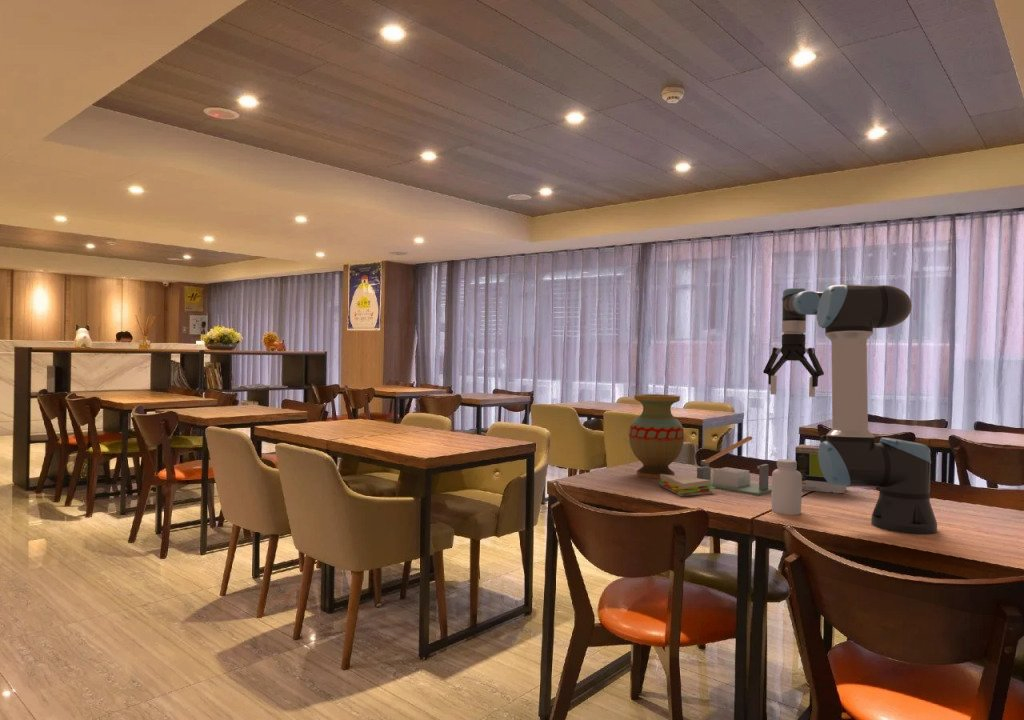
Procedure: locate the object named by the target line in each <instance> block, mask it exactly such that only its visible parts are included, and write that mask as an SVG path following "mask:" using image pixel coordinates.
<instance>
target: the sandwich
mask: <svg viewBox="0 0 1024 720" xmlns="http://www.w3.org/2000/svg"><path fill="white" fill-rule="evenodd" d="M659 479H660V481H658V483H659V486H661V487H663V488H664V489H667V490H669V491H670V492H673V493H675V494H677V495H678V496H680V497H686V496H696V495H697V496H699V495H707V494H713V489H716V488H715V487H712V486H708V485H711V480H706V479H698V478H697V477H690V476H689V477H688V476H681V475H680V476H679V475H675V476H673V475H665V474H660V478H659Z"/></svg>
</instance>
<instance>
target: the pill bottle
mask: <svg viewBox="0 0 1024 720" xmlns="http://www.w3.org/2000/svg"><path fill="white" fill-rule="evenodd" d="M796 466H797V462H796V461H795V460H793V459H777V460H776V467H777V468H775V469H774V470H773V471H772V473H771V486H772V492H771V511H772V512H773V513H776V514H779V515H785V516H787V515H788V516H798V515H801V514H802V498H803V497H802V495H803V494H802V491H803V489H802V475H801V473H800V472H799V471H797V470H796V469H797V467H796Z"/></svg>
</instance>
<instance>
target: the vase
mask: <svg viewBox="0 0 1024 720" xmlns="http://www.w3.org/2000/svg"><path fill="white" fill-rule="evenodd" d="M680 397H681V396H680V395H677V394H676V395H673V394H653V393H651V394H650V393H648V394H647V393H641V394H640V393H639V394H634V397H633V398H634V400H635V401H638V402H639V403H640V404H641V405H642V411H641V413H640V415H638V416H637V417H636V418H635V419H634V420H633V421H631V423H630V426H629V429H628V442H629V445H630V449H631V450H632V453H633V455H634V456H635V457H636V458H637V459H638V461H640V463H641V464H642V467H640V468H638V469H637V470H636V475H637V476H639V477H643V478H649V479H660V474H665V475H673V476H676V472H675V471H673V470H672V469H671V468H669V466H670V465H671V464H672V463H673V462H674V461H675V460H676V459H677V458H678V457H679V455H680V454H681V452H682V449H683V445H684V442H685V440H684V439H685V431H684V430H685V429H684V427H683V425H682V423H681V422H680V421H679V420H678V419H677V418H676V417H675V416H674V415H673V414H672V410H671V409H672V405H674V404H676V403H678V402H681V401H680V400H681V398H680Z"/></svg>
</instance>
